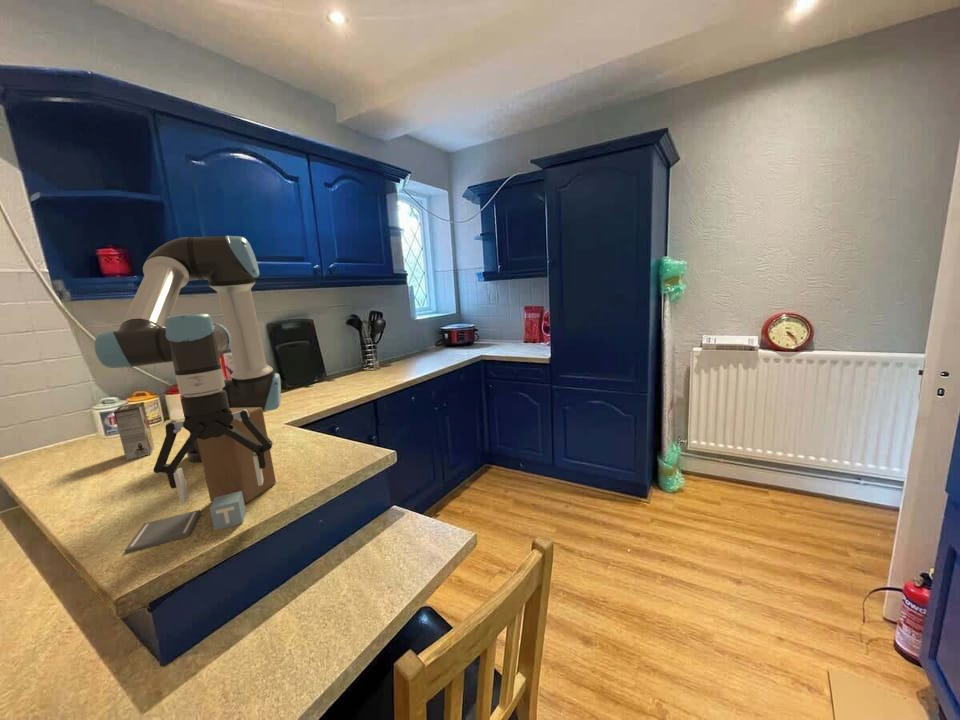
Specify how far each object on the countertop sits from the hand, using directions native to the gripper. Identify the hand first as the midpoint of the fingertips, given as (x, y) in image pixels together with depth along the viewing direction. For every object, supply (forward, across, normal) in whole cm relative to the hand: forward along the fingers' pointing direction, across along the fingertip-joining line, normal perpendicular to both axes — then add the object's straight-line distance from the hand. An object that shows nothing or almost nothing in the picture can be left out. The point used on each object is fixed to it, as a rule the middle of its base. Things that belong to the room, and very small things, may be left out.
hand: (224, 491), depth 81 cm
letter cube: (+7, 0, 0) cm, 7 cm away
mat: (+7, -12, +4) cm, 14 cm away
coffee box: (+6, -35, +66) cm, 74 cm away
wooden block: (+7, +1, +14) cm, 15 cm away
